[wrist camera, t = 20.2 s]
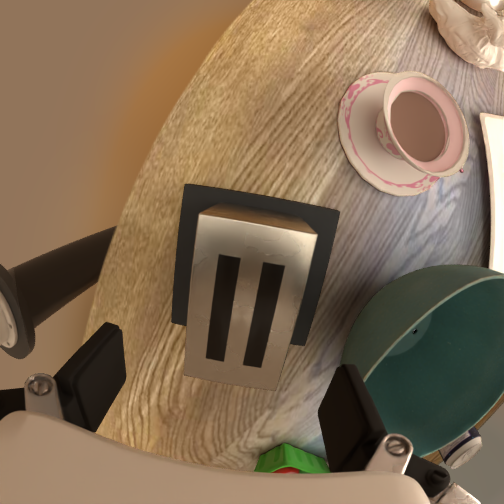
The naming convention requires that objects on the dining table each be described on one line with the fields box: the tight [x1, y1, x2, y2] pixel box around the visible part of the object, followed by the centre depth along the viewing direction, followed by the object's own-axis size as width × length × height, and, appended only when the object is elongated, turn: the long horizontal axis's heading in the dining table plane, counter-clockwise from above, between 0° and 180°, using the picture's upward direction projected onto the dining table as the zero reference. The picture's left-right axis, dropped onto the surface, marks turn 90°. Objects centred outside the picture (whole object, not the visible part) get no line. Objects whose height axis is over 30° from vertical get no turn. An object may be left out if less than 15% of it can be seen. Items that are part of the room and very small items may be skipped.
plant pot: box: [340, 265, 504, 458], centre depth 19 cm, size 18×18×12 cm
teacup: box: [337, 71, 469, 196], centre depth 18 cm, size 12×12×6 cm
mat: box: [171, 184, 340, 346], centre depth 24 cm, size 13×13×1 cm
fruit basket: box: [254, 443, 331, 474], centre depth 26 cm, size 11×9×11 cm
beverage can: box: [438, 426, 482, 469], centre depth 23 cm, size 6×6×12 cm
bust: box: [429, 0, 504, 72], centre depth 12 cm, size 12×8×11 cm
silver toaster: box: [184, 202, 318, 391], centre depth 20 cm, size 6×12×8 cm, turn 170°
